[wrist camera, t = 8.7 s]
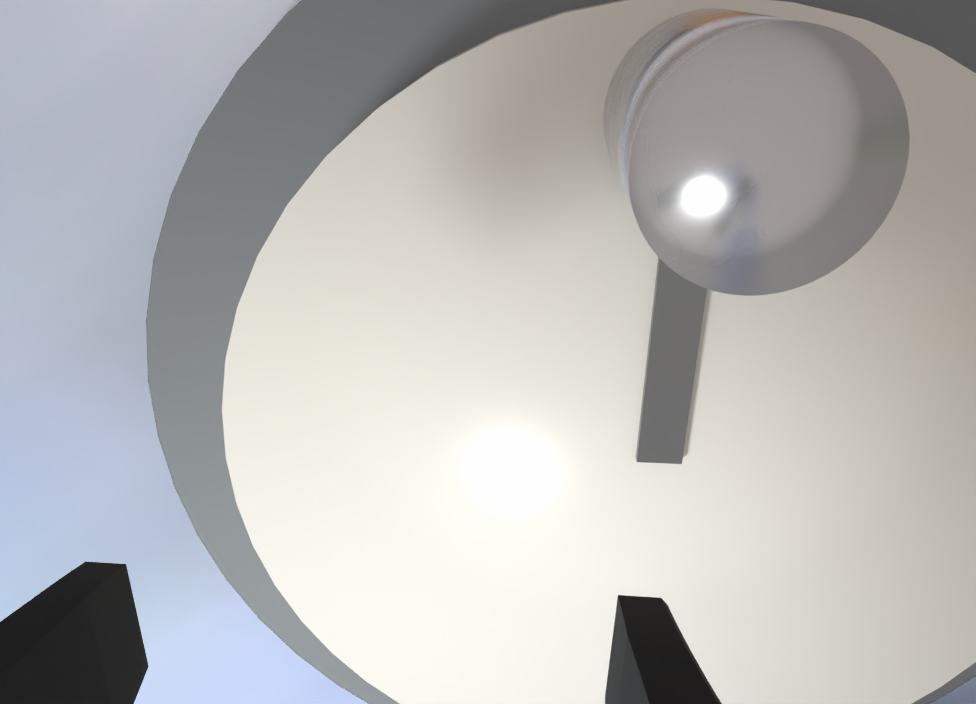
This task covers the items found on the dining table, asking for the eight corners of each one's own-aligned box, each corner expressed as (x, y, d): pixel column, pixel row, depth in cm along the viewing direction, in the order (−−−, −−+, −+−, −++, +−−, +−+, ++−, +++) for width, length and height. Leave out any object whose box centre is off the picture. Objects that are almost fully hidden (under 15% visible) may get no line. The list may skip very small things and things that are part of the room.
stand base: (1410, 331, 18) (1470, 356, 17) (681, 844, 28) (687, 883, 26) (555, -504, 13) (557, -553, 12) (20, 485, 22) (-8, 513, 21)
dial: (953, 744, 23) (1081, 978, 18) (286, 704, 24) (212, 915, 19) (1249, 2, 14) (1677, 17, 9) (185, -14, 15) (-7, -10, 10)
